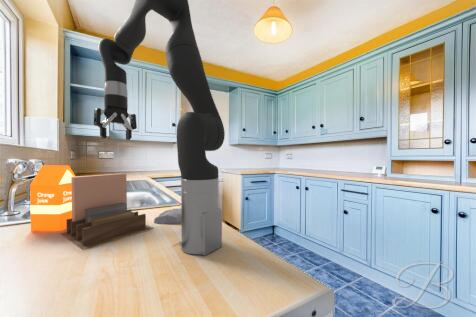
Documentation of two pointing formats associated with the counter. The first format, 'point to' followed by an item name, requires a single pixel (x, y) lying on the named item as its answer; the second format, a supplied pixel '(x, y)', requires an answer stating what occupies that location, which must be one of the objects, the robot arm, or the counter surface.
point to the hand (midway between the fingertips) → (116, 139)
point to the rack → (104, 230)
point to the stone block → (169, 217)
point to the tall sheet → (96, 192)
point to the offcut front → (111, 218)
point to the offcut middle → (104, 211)
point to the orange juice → (51, 198)
